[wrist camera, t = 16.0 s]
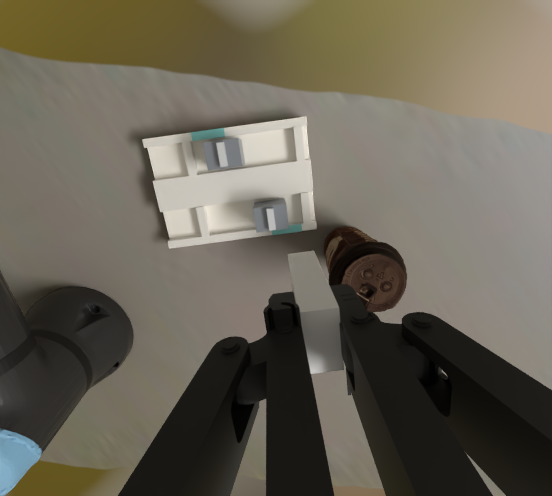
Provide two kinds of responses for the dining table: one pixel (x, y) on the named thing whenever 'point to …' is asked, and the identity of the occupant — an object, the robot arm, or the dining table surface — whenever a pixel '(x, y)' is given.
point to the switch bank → (232, 182)
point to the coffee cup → (365, 267)
